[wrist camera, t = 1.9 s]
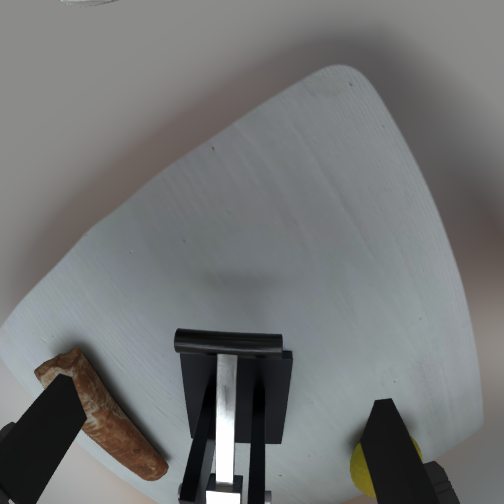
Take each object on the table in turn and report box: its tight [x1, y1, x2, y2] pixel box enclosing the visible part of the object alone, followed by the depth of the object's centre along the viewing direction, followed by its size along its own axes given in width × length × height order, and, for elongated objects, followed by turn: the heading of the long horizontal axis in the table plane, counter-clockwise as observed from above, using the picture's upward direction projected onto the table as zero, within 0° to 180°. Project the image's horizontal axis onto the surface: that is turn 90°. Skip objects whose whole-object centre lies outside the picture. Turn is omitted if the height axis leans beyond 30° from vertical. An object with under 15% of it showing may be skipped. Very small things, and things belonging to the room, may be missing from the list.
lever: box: [174, 328, 283, 504], centre depth 15 cm, size 13×6×2 cm, turn 178°
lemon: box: [350, 436, 423, 499], centre depth 23 cm, size 11×8×8 cm
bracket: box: [178, 351, 293, 504], centre depth 19 cm, size 11×9×13 cm
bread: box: [34, 348, 169, 481], centre depth 24 cm, size 6×19×6 cm, turn 21°
